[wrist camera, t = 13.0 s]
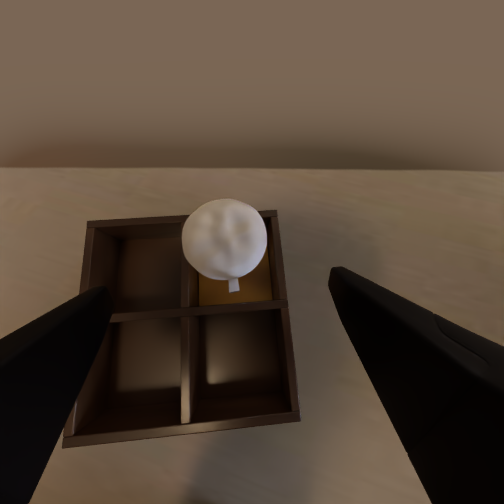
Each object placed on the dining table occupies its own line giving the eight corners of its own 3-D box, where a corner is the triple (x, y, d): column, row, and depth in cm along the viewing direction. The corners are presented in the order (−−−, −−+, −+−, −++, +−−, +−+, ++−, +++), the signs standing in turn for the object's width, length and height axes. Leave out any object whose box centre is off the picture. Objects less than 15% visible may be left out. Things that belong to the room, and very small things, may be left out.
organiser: (289, 395, 17) (302, 421, 14) (103, 415, 17) (61, 449, 13) (271, 227, 21) (277, 209, 17) (117, 236, 20) (87, 220, 16)
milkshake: (213, 304, 18) (178, 304, 9) (204, 245, 19) (164, 187, 10) (264, 293, 19) (286, 281, 9) (252, 236, 20) (259, 172, 10)
